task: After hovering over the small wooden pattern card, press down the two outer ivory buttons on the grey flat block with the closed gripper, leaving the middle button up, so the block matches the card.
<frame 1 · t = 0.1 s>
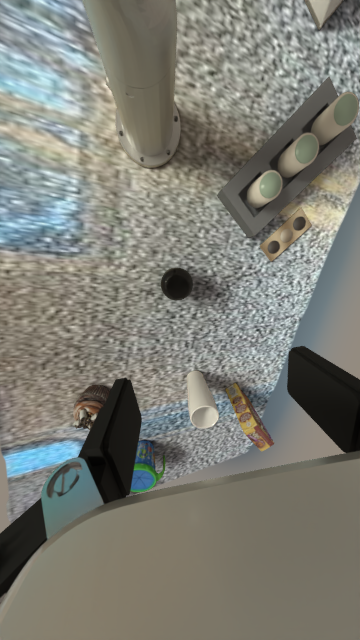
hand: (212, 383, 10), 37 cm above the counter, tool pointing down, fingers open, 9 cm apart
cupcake: (98, 394, 54), on the counter
supplement bottle: (175, 281, 45), on the counter
button b: (297, 156, 33), point 6 cm above the counter, slide at 0.0 cm
button a: (263, 190, 35), point 6 cm above the counter, slide at 0.0 cm
drinking glass: (194, 376, 54), on the counter
pattern card: (284, 236, 43), on the counter
button c: (333, 120, 32), point 6 cm above the counter, slide at 0.0 cm
snack cup: (143, 446, 62), on the counter
grey flat block: (277, 172, 39), on the counter
candy box: (236, 393, 58), on the counter
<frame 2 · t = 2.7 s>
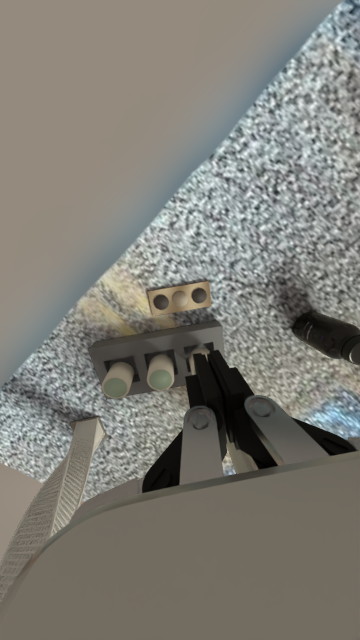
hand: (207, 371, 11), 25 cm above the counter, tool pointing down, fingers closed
skyscraper: (91, 426, 44), on the counter
supplement bottle: (306, 325, 39), on the counter
button b: (161, 372, 33), point 6 cm above the counter, slide at 0.0 cm
button a: (202, 364, 33), point 6 cm above the counter, slide at 0.0 cm
pattern card: (180, 298, 35), on the counter
button c: (118, 379, 33), point 6 cm above the counter, slide at 0.0 cm
grey flat block: (161, 355, 39), on the counter
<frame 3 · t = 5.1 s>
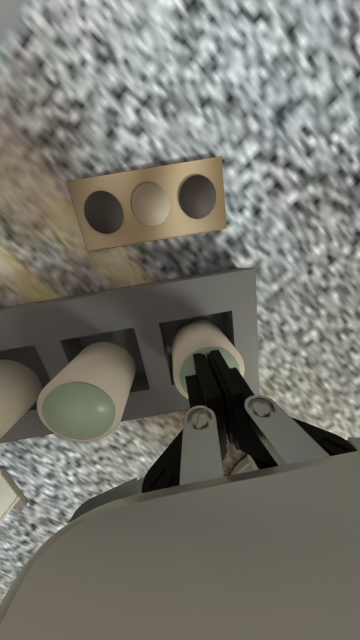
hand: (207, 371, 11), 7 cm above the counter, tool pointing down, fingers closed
button b: (95, 386, 12), point 6 cm above the counter, slide at 0.0 cm
button a: (203, 357, 14), point 5 cm above the counter, slide at 1.3 cm, touching gripper
pattern card: (151, 208, 15), on the counter
grey flat block: (118, 348, 18), on the counter
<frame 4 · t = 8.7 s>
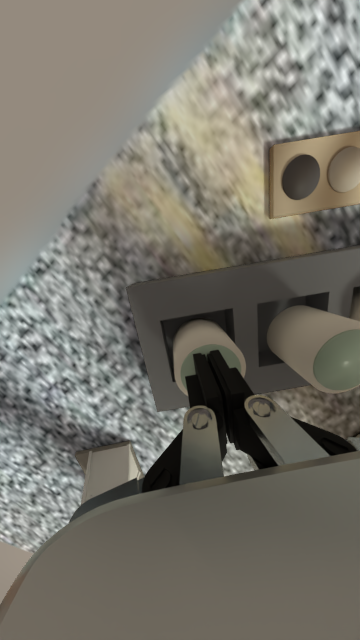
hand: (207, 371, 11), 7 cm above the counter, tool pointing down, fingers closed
skyscraper: (114, 458, 23), on the counter
button b: (316, 344, 13), point 6 cm above the counter, slide at 0.0 cm
pattern card: (338, 174, 15), on the counter
button c: (204, 355, 14), point 5 cm above the counter, slide at 1.2 cm, touching gripper
grey flat block: (269, 319, 18), on the counter
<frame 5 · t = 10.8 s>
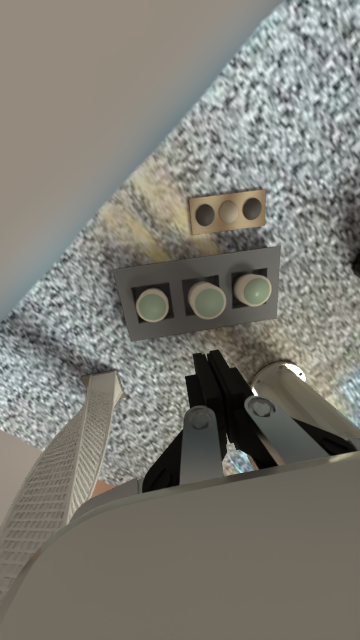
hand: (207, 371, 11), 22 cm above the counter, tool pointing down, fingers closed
skyscraper: (106, 382, 37), on the counter
button b: (205, 299, 26), point 6 cm above the counter, slide at 0.0 cm
button a: (249, 289, 29), point 4 cm above the counter, slide at 2.5 cm
pattern card: (227, 213, 28), on the counter
button c: (153, 303, 28), point 4 cm above the counter, slide at 2.5 cm
grey flat block: (197, 292, 32), on the counter
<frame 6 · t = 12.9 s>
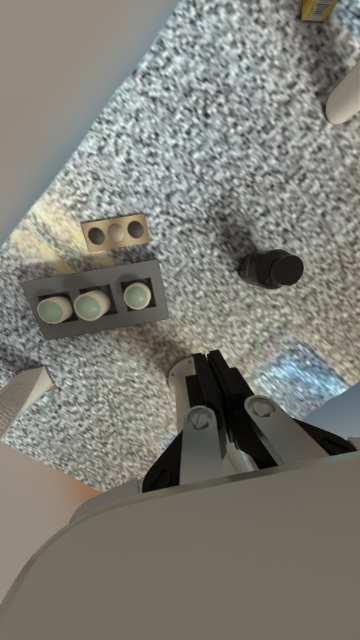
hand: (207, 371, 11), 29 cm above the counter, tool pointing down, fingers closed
skyscraper: (39, 376, 43), on the counter
supplement bottle: (252, 268, 39), on the counter
button b: (93, 304, 32), point 6 cm above the counter, slide at 0.0 cm
button a: (138, 295, 35), point 4 cm above the counter, slide at 2.5 cm
drinking glass: (337, 108, 31), on the counter
pattern card: (117, 233, 34), on the counter
button c: (58, 308, 34), point 4 cm above the counter, slide at 2.5 cm
grey flat block: (104, 298, 38), on the counter
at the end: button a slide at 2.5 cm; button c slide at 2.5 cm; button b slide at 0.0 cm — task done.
